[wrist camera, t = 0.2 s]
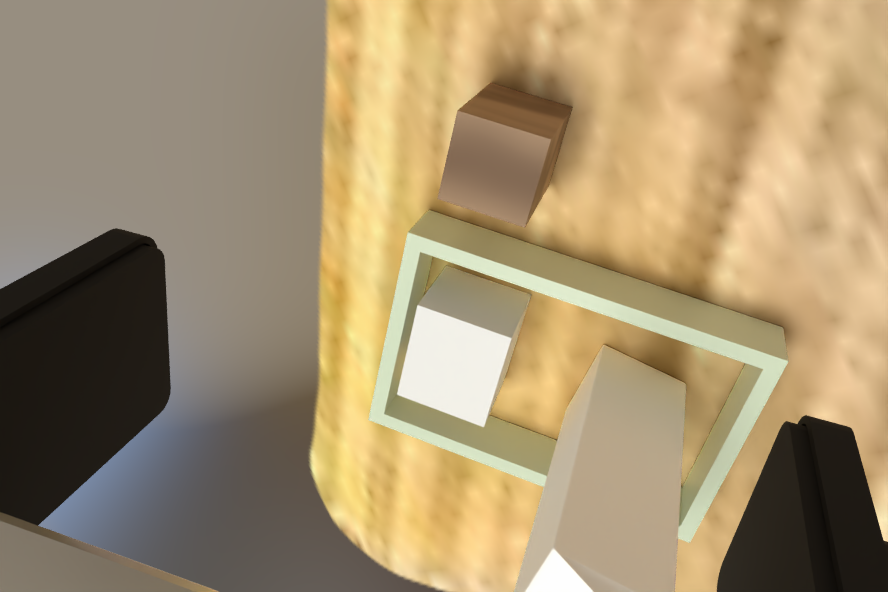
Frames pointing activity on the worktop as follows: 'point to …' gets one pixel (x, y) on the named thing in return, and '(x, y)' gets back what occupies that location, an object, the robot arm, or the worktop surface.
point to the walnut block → (503, 153)
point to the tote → (594, 292)
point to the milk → (612, 485)
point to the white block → (462, 344)
